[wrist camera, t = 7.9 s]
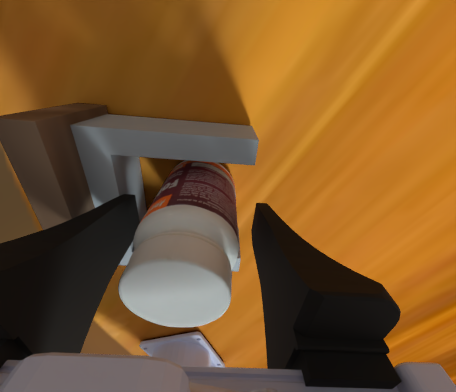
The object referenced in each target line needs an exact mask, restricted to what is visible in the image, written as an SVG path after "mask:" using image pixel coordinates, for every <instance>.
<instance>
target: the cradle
mask: <svg viewBox="0 0 456 392" xmlns="http://www.w3.org/2000/svg"><path fill="white" fill-rule="evenodd" d="M70 126H71V129H72V133H73V136H74V139H75V143H76V146H77V149H78V153H79V156H80V160H81V163H82V166H83V170H84V173H85V176H86V180H87V183H88V186H89V190H90V193H91V196H92V200H93V203H94V206H95V208H96V207H98V206H100V205H102V204H104V203H106V202H108V201H110V200H112V199H114V198H116V197H118V196H120V195H123V194H132V195H135V197H136V203H137V209H138V214H139V220H140V222H141V220H142V218H143V217H144V215H145V214H146V213H147V207H146V200H145V194H144V187H143V180H142V173H141V166H140V160H139V157H150V158H163V159H177V160H190V161H204V162H217V163H231V164H244V165H255V161H256V154H257V148H258V141H259V140H258V138H257V136H256V133H255V131H254V129H253V127H252V126H247V125H235V124H223V123H210V122H198V121H186V120H174V119H162V118H149V117H137V116H125V115H113V114H105V115H102V116H99V117H95V118H92V119H89V120H85V121H82V122H79V123H75V124H72V125H70ZM237 228H238V227H237ZM238 241H239V230H238ZM133 252H134V240H133V242H132V243H131V245H130V247H129V248H128V250H127V252H126V253H125V255H124V257H123V259H122V260H121V262H120V264H119V265H127V264H128V262H129V260H130V258H131V255H132V254H133ZM239 265H240V245H239V251H238V257H237V260H236V263H235V265H234V267H233V269H232V270H231V271H239Z"/></svg>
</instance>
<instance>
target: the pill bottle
mask: <svg viewBox="0 0 456 392" xmlns="http://www.w3.org/2000/svg"><path fill="white" fill-rule="evenodd" d="M238 251H239V241H238V228H237V213H236V193H235V185H234V181H233V179H232V177H231V175H230V173H229V172H228V171H227V170H226V169H225V168H224V167H223V166H222V165H221V164H219V163H217V162H204V161H190V160H185V161H183V162H181V163H179V164H178V165H177V166H176V167H174V169H173V170H172V171H171V172H170V174H169V176H168V178H167V179H166V181H165V182H164V184H163V185H162V187H161V189H160V191H159V192H158V194H157V195H156V197H155V199H154V201H153V202H152V204H151V205H150V207H149V209H148V211H147V213H146V214H145V215H144V217H143V218H142V220H141V222H140V224H139V225H138V227H137V230H136V232H135V236H134V252H133V254H132V255H131V258H130V260H129V262H128V264H127V266H126V268H125V270H124V272H123V274H122V276H121V278H120V281H119V286H118V291H119V295H120V298H121V300H122V302H123V303H124V305H125V306H126V307H127V308H128V309H129V310H130V311H132V312H133V313H134V314H136V315H137V316H139V317H141V318H143V319H145V320H147V321H150V322H152V323H156V324H159V325H163V326H168V327H195V326H201V325H205V324H207V323H210V322H212V321H214V320H216V319H218V318H219V317H221V316H222V315H223V314H224V313H225V311H226V310H227V309H228V307H229V304H230V300H231V278H232V271H231V270H232V269H233V267H234V265H235V263H236V260H237V257H238Z"/></svg>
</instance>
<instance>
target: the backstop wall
mask: <svg viewBox="0 0 456 392" xmlns="http://www.w3.org/2000/svg"><path fill="white" fill-rule="evenodd" d="M105 114H108V112H107V107H106V105H96V104H84V103H74V104H68V105H62V106H56V107H50V108H44V109H38V110H32V111H26V112H20V113H14V114H8V115H2V116H0V142H1V144H2V146H3V148H4V150H5V152H6V154H7V156H8V158H9V160H10V162H11V164H12V166H13V169H14V171H15V173H16V175H17V177H18V179H19V181H20V183H21V185H22V187H23V189H24V191H25V193H26V195H27V197H28V200H29V202H30V204H31V206H32V208H33V210H34V212H35V214H36V216H37V218H38V220H39V222H40V224H41V226H42V228H43V230H45V229H48V228H51V227H53V226H56V225H58V224H61V223H63V222H66V221H68V220H71V219H73V218H75V217H77V216H79V215H81V214H83V213H86V212H88V211H90V210H92V209H94V208H95V206H94V203H93V200H92V196H91V193H90V190H89V186H88V183H87V180H86V176H85V173H84V170H83V166H82V163H81V160H80V156H79V153H78V149H77V146H76V143H75V139H74V136H73V133H72V129H71V126H70V125H72V124H75V123H79V122H82V121H85V120H89V119H92V118H95V117H99V116H102V115H105Z"/></svg>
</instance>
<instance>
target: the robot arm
mask: <svg viewBox="0 0 456 392" xmlns="http://www.w3.org/2000/svg"><path fill="white" fill-rule="evenodd" d="M139 224H140V220H139V214H138V209H137V203H136V197H135V195H132V194H123V195H120V196H118V197H116V198H114V199H112V200H110V201H108V202H106V203H104V204H102V205H100V206H98V207H96V208H94V209H92V210H90V211H88V212H86V213H83V214H81V215H79V216H77V217H75V218H73V219H71V220H68V221H66V222H63V223H61V224H58V225H56V226H53V227H51V228H48V229H45V230H42V231H39V232H36V233H33V234H30V235H27V236H24V237H21V238H18V239H15V240H11V241H7V242H4V243H1V244H0V392H456V386H455V384H454V383H453V382H452V380H451V379H450V377H449V376H448V375H447V373H446V372H445V371H444V369H443V368H442V367H441V365H440V364H437V363H424V362H404V363H400V364H398V365H396V366H395V367H393V365H392V364H391V362H390V360H389V359H388V357H387V355H386V354H388V353H389V348H388V346H387V345H386V343H385V341H384V340H383V339H384V338H385V337H386V335H387V334H388V333H389V332H390V331H391V330H392V329H393V328H394V326H395V325H396V324H397V322H398V321H399V318H400V309H399V307H398V305H397V304H396V303H395V301H394V300H393V299H392V297H391V296H390V295H389V293H388V292H387V291H386V289H385V288H384V287H383V285H382V284H380V283H378V282H376V281H374V280H372V279H369V278H367V277H365V276H363V275H361V274H359V273H357V272H355V271H353V270H351V269H349V268H347V267H345V266H343V265H342V264H340V263H338V262H336V261H335V260H333V259H331V258H330V257H328V256H326V255H325V254H323V253H322V252H320V251H319V250H317V249H316V248H314V247H313V246H312V245H310V244H309V243H308V242H306V241H305V240H304V239H302V238H301V237H300V236H299V235H298V234H297V233H295V232H294V231H293V230H292V229H291V228H290V227H289V226H288V225H287V224H286V223H285V222H284V221H283V220H282V219H281V218H280V217H279V216H278V215H277V214H276V213H275V212H274V211H273V210H272V208H271V207H270V206H269V205H268V204H266V203H256V208H255V214H254V220H253V225H252V244H253V250H254V255H255V260H256V264H257V269H258V274H259V279H260V284H261V292H262V301H263V312H264V323H265V336H266V349H267V366H268V369H260V368H231V367H225V364H224V363H223V361H222V360H221V359H220V357H219V356H218V355H217V353H216V352H215V351H214V350H213V348H212V347H211V346H210V344H209V343H208V342H207V340H206V339H205V338H204V336H203V335H202V334H201V333H200V332H191V333H185V334H180V335H174V336H169V337H164V338H158V339H153V340H147V341H142V342H141V343H140V348H141V349H143V350H144V351H145V352H146V353H147V354H148V355H149V356H139V355H111V354H109V355H108V354H83V353H80V352H81V349H82V346H83V344H84V341H85V338H86V336H87V333H88V331H89V328H90V325H91V323H92V320H93V318H94V315H95V313H96V311H97V308H98V306H99V304H100V301H101V299H102V297H103V295H104V292H105V290H106V288H107V286H108V284H109V281H110V279H111V278H112V276H113V274H114V272H115V270H116V269H117V267H118V265H119V264H120V262H121V260H122V259H123V257H124V255H125V253H126V252H127V250H128V248H129V247H130V245H131V243H132V242H133V240H134V236H135V232H136V230H137V227H138V225H139Z"/></svg>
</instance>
